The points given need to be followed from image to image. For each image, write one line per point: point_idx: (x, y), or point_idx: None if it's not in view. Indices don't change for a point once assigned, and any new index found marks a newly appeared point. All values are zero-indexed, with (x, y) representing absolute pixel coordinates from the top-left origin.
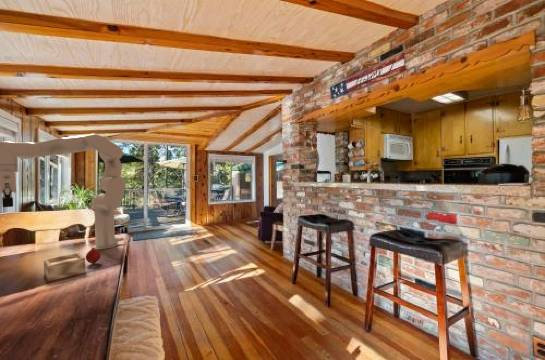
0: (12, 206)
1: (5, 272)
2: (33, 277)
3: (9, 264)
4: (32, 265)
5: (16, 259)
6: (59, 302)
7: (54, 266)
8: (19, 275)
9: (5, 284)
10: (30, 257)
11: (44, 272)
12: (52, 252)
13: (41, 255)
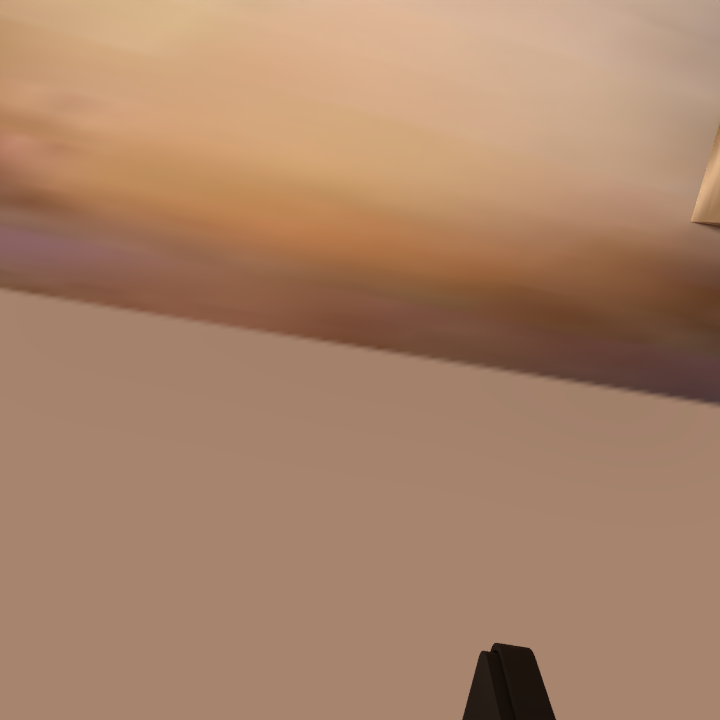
0: (521, 651)
1: (415, 352)
2: (703, 280)
3: (223, 302)
4: (397, 217)
5: (108, 246)
6: None
7: None
8: (570, 318)
9: (677, 395)
10: (130, 171)
11: (715, 224)
12: (96, 10)
13: (133, 100)
